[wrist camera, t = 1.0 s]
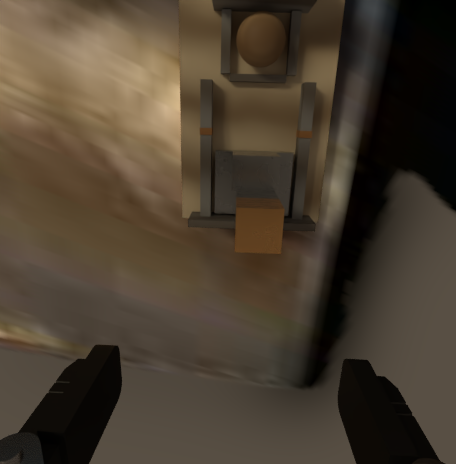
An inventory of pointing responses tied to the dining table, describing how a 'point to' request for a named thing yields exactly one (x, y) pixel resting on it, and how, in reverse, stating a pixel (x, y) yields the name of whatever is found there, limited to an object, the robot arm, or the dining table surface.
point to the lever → (254, 196)
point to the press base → (256, 100)
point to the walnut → (261, 39)
